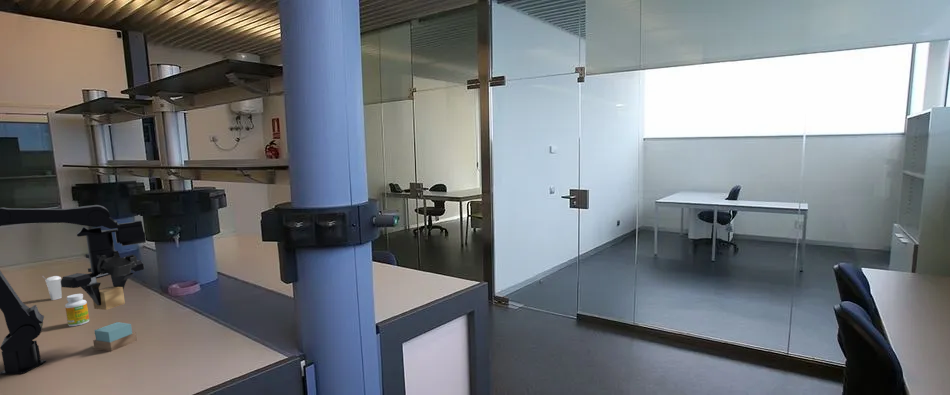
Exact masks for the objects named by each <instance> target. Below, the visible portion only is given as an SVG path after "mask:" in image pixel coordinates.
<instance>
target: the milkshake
mask: <svg viewBox="0 0 950 395" xmlns="http://www.w3.org/2000/svg"><path fill="white" fill-rule="evenodd" d="M42 278H43V279H44V280H45V284H46V286H47V289H48V293H49V297H50V300H51V301H55V300H59V299H62V298H63V294H62V287H61V280H62V277H61V276H59V275H53V276H49V277H47V278H46V277H45V276H44V275H42Z"/></svg>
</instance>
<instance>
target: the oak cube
mask: <svg viewBox="0 0 950 395" xmlns="http://www.w3.org/2000/svg"><path fill="white" fill-rule="evenodd" d="M99 292H100V297H101V305H100V306H99V305H97V304H96V303H95V302H94V301H93V300H92V301H93V302H92V303H93V309H96V310H105V311H107V310H111V309H113V308H116V307H119V306H123V305H125V304H126V302H125V294H124V290H123V287H114V286H113V285H112V286H111V285H110V286H107V287H104V288H101V289H100V288H99Z"/></svg>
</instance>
